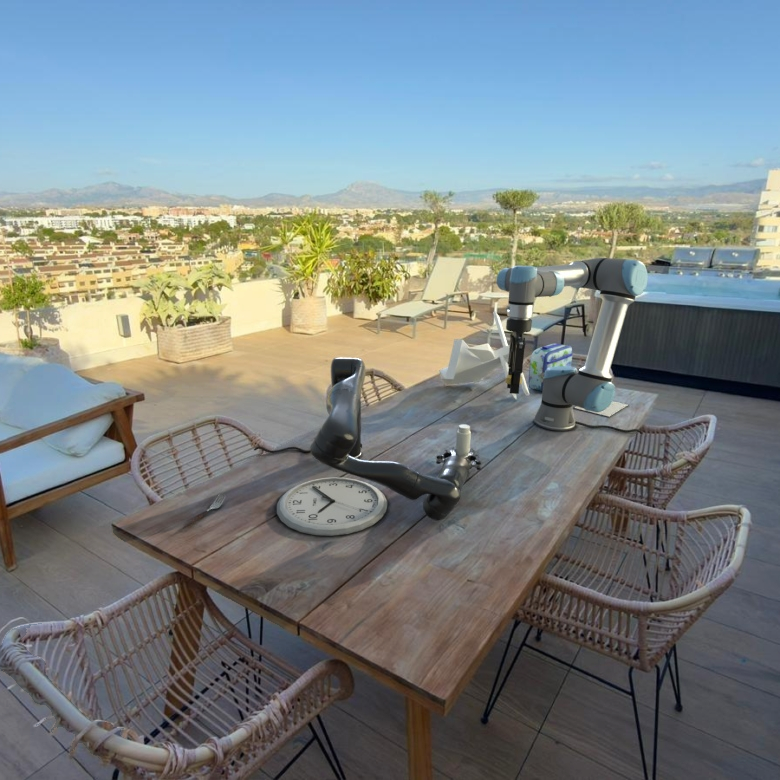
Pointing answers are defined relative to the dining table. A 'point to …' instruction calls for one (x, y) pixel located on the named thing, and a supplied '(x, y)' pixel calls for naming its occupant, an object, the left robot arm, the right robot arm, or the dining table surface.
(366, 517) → the wall clock
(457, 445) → the white cylinder
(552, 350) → the lunch box
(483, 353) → the white plastic object
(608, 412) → the invitation card
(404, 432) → the dining table surface
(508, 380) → the lid
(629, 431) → the right robot arm
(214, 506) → the fork
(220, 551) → the dining table surface
